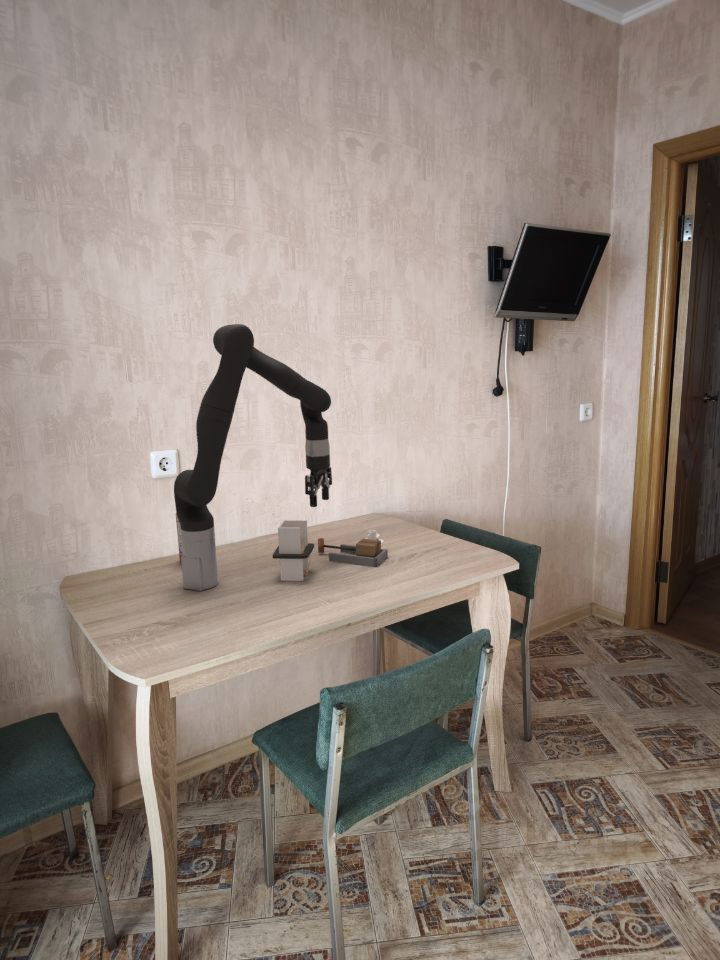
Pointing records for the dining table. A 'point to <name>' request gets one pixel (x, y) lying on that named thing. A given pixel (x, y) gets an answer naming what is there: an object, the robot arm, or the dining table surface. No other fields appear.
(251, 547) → the dining table surface
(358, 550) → the walnut block
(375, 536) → the teacup and saucer
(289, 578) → the white collared box
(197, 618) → the dining table surface
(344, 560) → the tray
